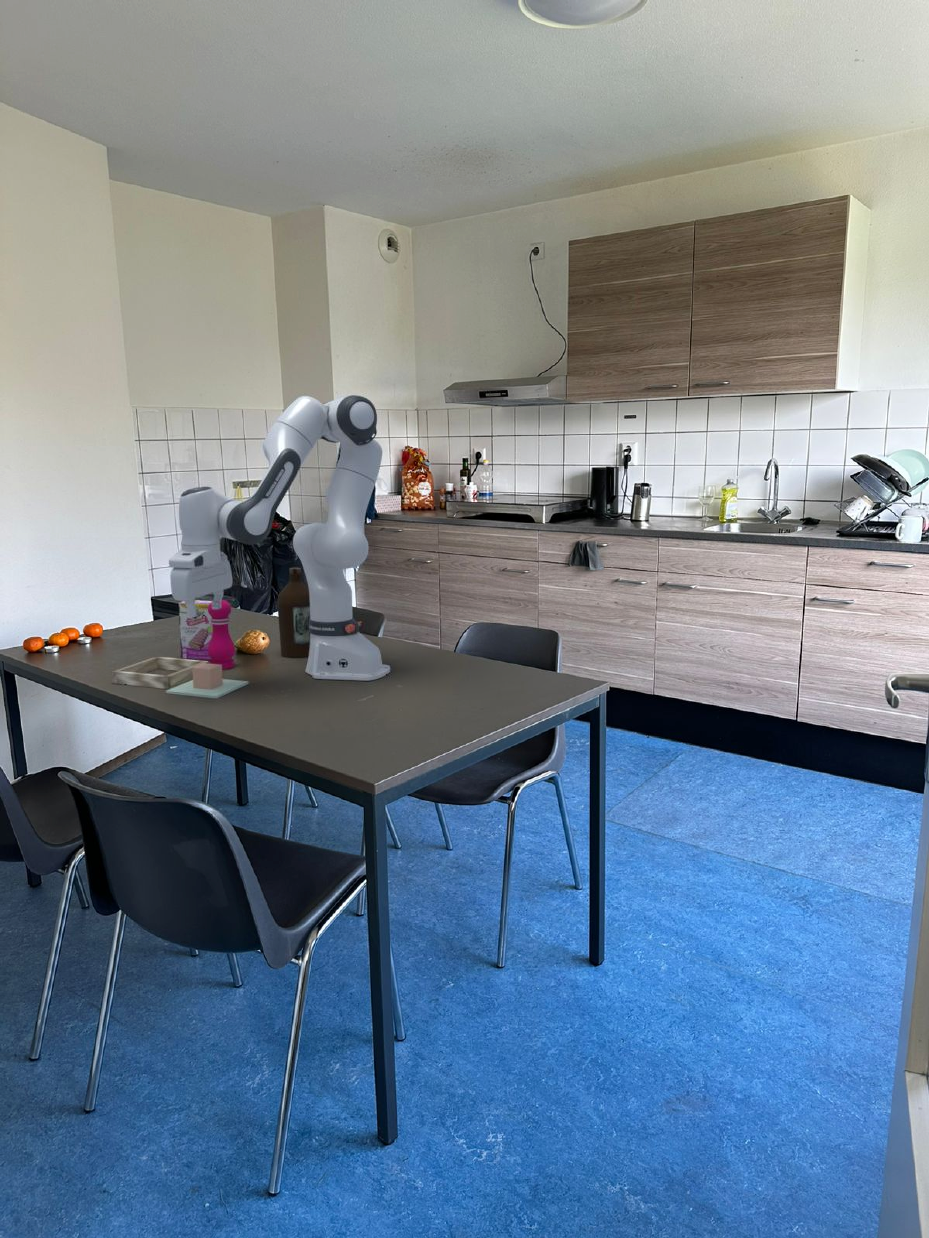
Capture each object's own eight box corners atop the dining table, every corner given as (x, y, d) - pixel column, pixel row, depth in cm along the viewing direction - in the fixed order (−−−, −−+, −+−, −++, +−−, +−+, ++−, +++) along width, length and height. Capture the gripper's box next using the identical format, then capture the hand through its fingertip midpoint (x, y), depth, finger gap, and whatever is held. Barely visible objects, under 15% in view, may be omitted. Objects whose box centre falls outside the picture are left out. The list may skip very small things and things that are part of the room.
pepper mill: (228, 670, 230) (225, 596, 226) (203, 669, 232) (199, 595, 228) (240, 664, 237) (237, 592, 233) (216, 663, 239) (212, 591, 235)
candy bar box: (180, 660, 241) (177, 602, 238) (187, 656, 246) (184, 599, 243) (219, 661, 240) (216, 603, 237) (225, 657, 245) (223, 600, 242)
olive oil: (271, 653, 250) (268, 568, 245) (303, 648, 257) (300, 564, 252) (292, 660, 242) (289, 571, 238) (323, 654, 249) (321, 568, 245)
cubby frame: (209, 672, 228) (208, 661, 228) (168, 689, 212) (167, 677, 212) (156, 667, 233) (156, 656, 233) (112, 683, 217) (111, 671, 216)
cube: (222, 684, 214) (221, 664, 214) (211, 689, 210) (210, 669, 209) (205, 682, 216) (204, 663, 215) (193, 687, 211) (192, 667, 210)
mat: (248, 683, 217) (248, 681, 217) (216, 698, 204) (216, 696, 204) (200, 679, 222) (200, 676, 221) (166, 693, 208) (165, 690, 208)
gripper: (214, 550, 217) (218, 604, 220) (163, 561, 198) (168, 620, 201) (236, 550, 216) (240, 605, 218) (187, 562, 196) (192, 621, 199)
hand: (205, 612), depth 210 cm, fingers open, 8 cm apart
